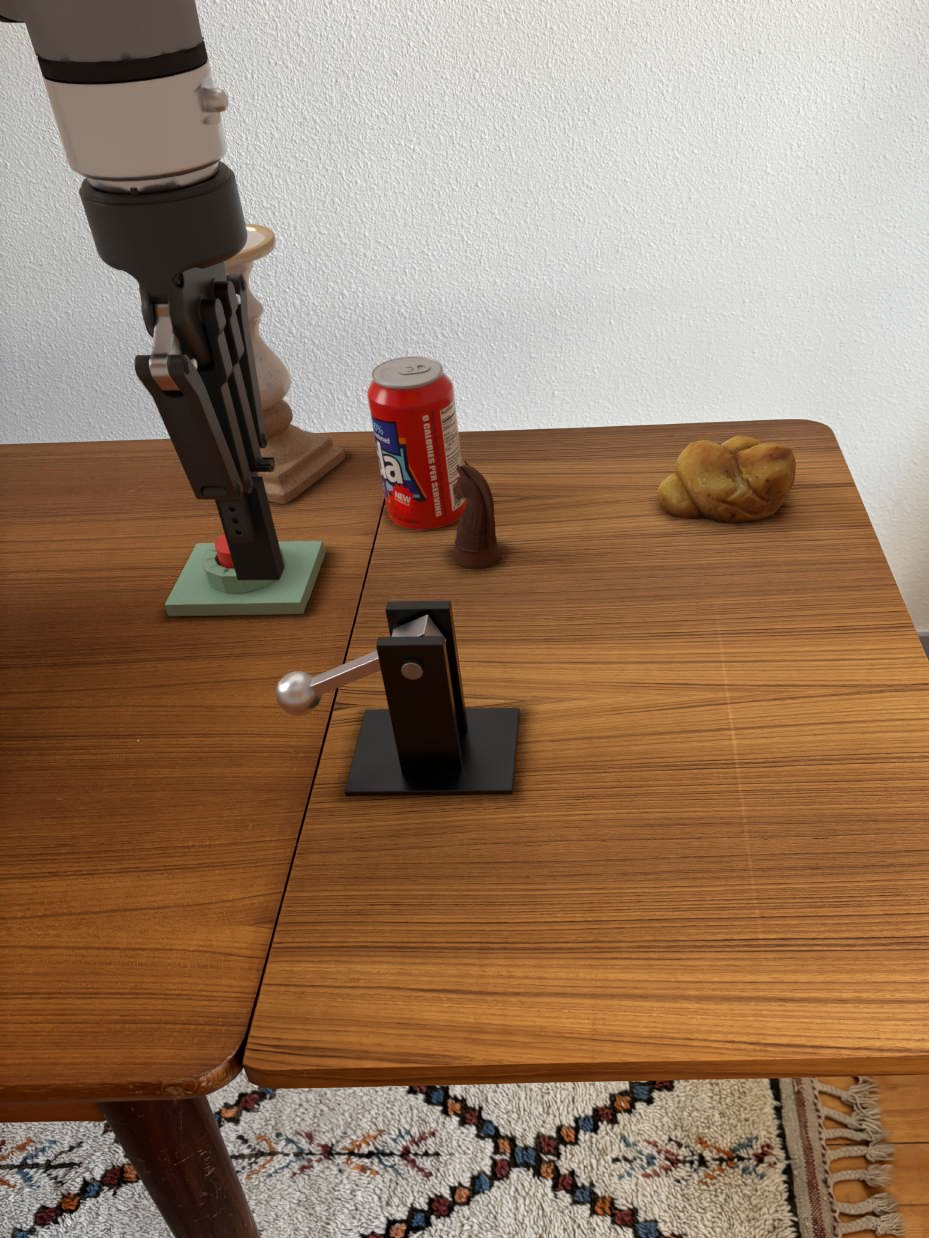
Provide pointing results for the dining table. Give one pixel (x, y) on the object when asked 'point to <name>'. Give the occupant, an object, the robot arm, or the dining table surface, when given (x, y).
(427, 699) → the lever stand
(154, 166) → the robot arm
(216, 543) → the button
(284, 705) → the silver lever handle
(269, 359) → the candle holder
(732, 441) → the bread roll
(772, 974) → the dining table surface
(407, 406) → the soda can
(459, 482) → the chess piece
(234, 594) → the button block
